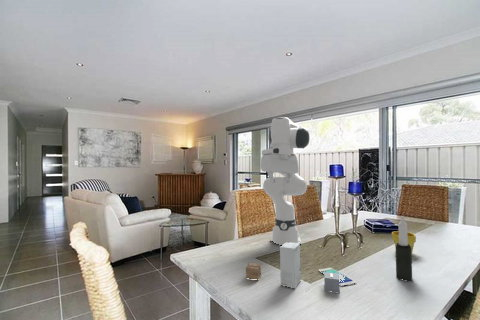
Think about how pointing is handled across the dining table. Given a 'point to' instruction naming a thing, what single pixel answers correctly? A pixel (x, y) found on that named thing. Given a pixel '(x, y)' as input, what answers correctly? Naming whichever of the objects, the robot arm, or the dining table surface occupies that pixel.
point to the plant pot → (410, 236)
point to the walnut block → (253, 271)
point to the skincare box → (290, 264)
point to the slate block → (331, 282)
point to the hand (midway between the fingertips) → (280, 183)
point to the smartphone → (331, 270)
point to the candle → (403, 254)
